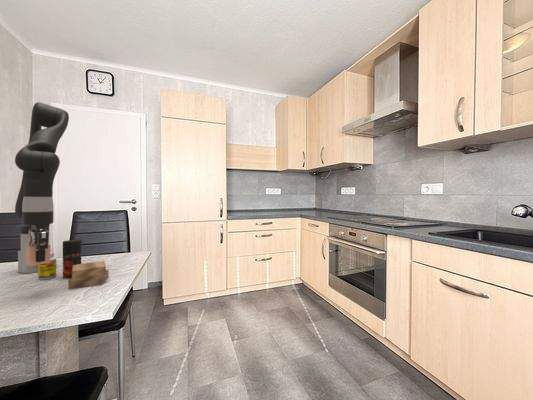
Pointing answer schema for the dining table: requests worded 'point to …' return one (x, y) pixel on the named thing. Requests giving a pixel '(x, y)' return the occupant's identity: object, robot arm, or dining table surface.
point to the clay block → (32, 255)
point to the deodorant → (71, 256)
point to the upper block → (88, 270)
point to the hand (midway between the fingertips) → (38, 260)
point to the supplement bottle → (47, 269)
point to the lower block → (87, 282)
